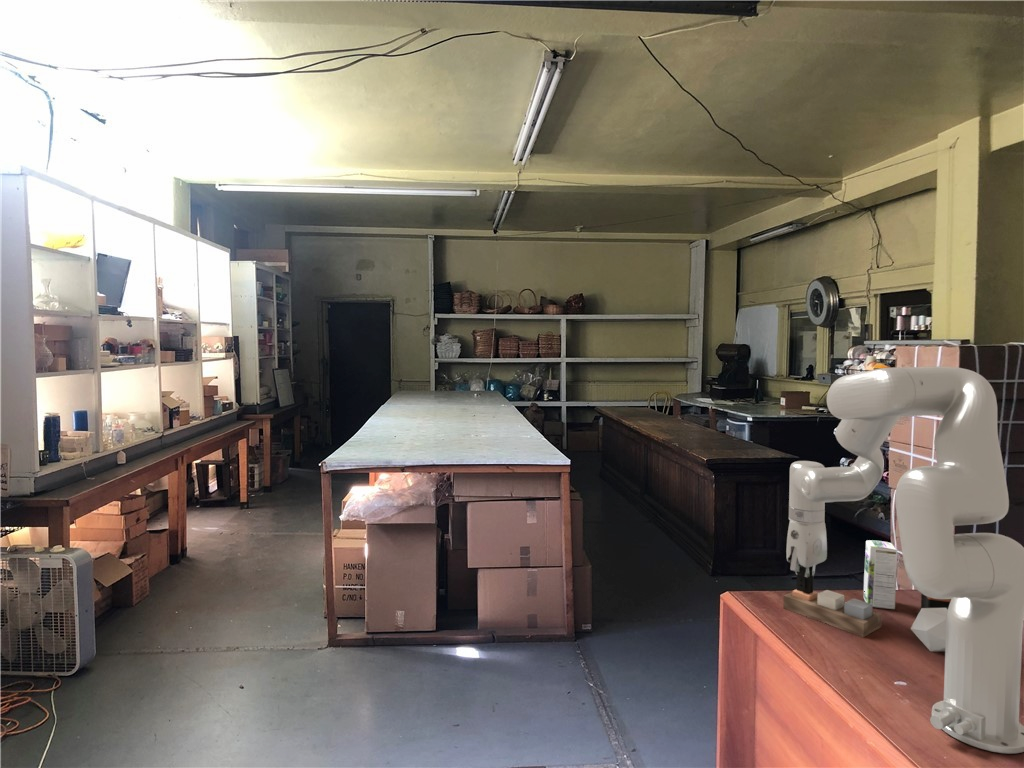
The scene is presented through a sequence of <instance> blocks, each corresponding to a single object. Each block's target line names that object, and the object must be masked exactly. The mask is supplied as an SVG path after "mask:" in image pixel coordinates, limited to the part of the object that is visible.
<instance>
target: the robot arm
mask: <svg viewBox="0 0 1024 768" xmlns="http://www.w3.org/2000/svg"><path fill="white" fill-rule="evenodd" d="M826 405H827V408H828V411H829V412H830V413H831V415H832V416H833V417H835V418H837V419H838V420H840V422H839V423H838V425H837V427H836V429H835V438H836V441H837V442H838V444H840V446H841V447H842V448H844V449H845V450H846V451H848V452H850V453H851V454H853V455H855V456H857V458H856V459H855V461H854V462H853V464H852V465H851V466H831V467H825V465H824V464H822V463H820V462H817V461H810V460H797V461H794V462H792V463H791V464H790V467H789V485H788V486H789V492H788V494H789V495H788V499H789V500H788V520H789V523H788V530H787V536H786V549H785V550H786V551H785V552H786V561H787V562H788V563H789V564H790V568H789V569H790V571H793V572H795V575H796V584H795V585H796V589H797V590H798V591H801V592H804V593H807V594H810V593H812V592H813V591H814V576H815V573H816V566H817V565H818V564H821V563H823V562H825V561H826V560H827V559H828V558H827V557H828V541H827V540H828V538H827V536H828V535H827V528H826V523H825V515H826V514H825V512H826V510H825V509H826V508H825V506H826V504H825V503H834V502H835V503H836V502H856V501H861V500H864V499H865V498H867V497H868V496H869V495H870V494H871V493H872V492H873V490H875V488H876V486H877V485H878V484H879V483H880V481H881V479H882V477H883V475H884V469H885V466H884V465H885V464H884V463H885V462H884V461H885V460H884V455H883V452H882V450H881V446H882V445H883V443H884V442H885V441H886V439H887V437H888V436H889V435H890V433H891V432H892V430H893V428H894V427H895V426H896V424H897V423H898V422H899V420H900V419H901V417H917V416H918V417H922V416H924V417H925V416H942V419H941V420H940V422H939V424H938V426H937V427H936V432H935V434H934V438H933V439H934V442H933V443H934V444H933V445H934V448H935V456H936V465H921V466H916V467H913V468H911V469H908V470H907V471H905V472H904V473H903V474H902V475H901V477H899V479H898V482H897V484H896V489H895V494H894V502H895V512H896V519H897V525H898V526H897V527H898V532H899V538H900V539H899V541H900V544H901V545H900V547H901V553H902V559H903V564H904V569H905V572H906V574H907V577H908V579H909V581H910V583H911V584H912V585H913V588H915V590H917V591H918V592H919V593H922V594H923V595H925V596H928V597H930V598H934V599H951V602H950V604H949V608H948V612H947V620H946V645H945V651H944V681H943V700H939V701H937V702H935V703H934V704H933V705H932V708H931V717H930V718H929V720H930V721H929V722H930V724H931V725H932V726H933V728H935V729H937V730H943V732H945V733H946V734H947V735H949V736H951V737H953V738H954V739H957V740H958V741H960V742H962V743H964V744H967V745H969V746H972V747H975V748H977V749H981V750H985V751H988V752H993V753H999V754H1020V753H1023V752H1024V725H1023V723H1021V722H1020V700H1021V676H1022V674H1021V673H1022V672H1021V671H1022V651H1023V649H1022V648H1023V634H1024V632H1023V631H1024V629H1023V628H1024V546H1023V545H1022V544H1021V543H1020V542H1018V541H1016V540H1015V539H1013V538H1012V537H1009V536H1007V535H1006V536H1005V535H1003V534H1000V533H993V532H970V533H956V534H954V526H956V527H957V526H969V525H972V526H973V525H984V524H992V523H995V522H998V521H1001V520H1003V519H1004V518H1005V516H1006V515H1007V514H1008V513H1009V508H1010V499H1009V491H1008V485H1007V479H1006V475H1005V468H1004V467H1005V466H1004V462H1003V456H1002V450H1001V447H1000V446H1001V445H1000V441H999V431H998V403H997V396H996V393H995V391H994V388H993V386H992V385H991V383H990V382H989V381H988V380H987V379H986V378H985V377H984V376H983V375H982V374H979V372H975V371H974V370H970V369H967V368H962V367H956V366H910V367H909V366H908V367H907V366H905V367H904V366H903V367H901V366H900V367H883V368H877V369H876V368H875V369H871V370H867V371H866V370H865V371H862V372H858V373H853V374H847V375H843V376H841V377H839V378H837V379H836V380H834V381H833V383H832V384H831V385H830V387H829V388H828V391H827V395H826ZM796 589H795V590H796Z"/></svg>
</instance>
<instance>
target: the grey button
mask: <svg viewBox="0 0 1024 768" xmlns="http://www.w3.org/2000/svg"><path fill="white" fill-rule="evenodd" d="M844 602H845V605H844V613H845V614H847V615H850V616H853V617H856V618H859V619H862V620H866V619H867V618H869V617H871V616H872V611H873V608H874V607H873V604H870V603H867V602H866V601H865V600H861V599H857V598H854V597H853V598H851V599H849V600H847V601H844Z"/></svg>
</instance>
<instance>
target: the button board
mask: <svg viewBox="0 0 1024 768" xmlns="http://www.w3.org/2000/svg"><path fill="white" fill-rule="evenodd" d="M817 599H818V598H816V599H814V600H812V601H807V600H804V599H801V598H798V597H795V596H792V592H789V593H787V594H784V595H783V600H782V601H783V609H785V610H788V611H790V612H793V613H795V614H798V615H802V616H804V617H806V616H807V617H806V618H809V619H812V620H814V619H815V621H817V620H818V621H817V622H820V621H821V623H823V624H825V623H827V624H826V625H828V624H829V626H831V627H834V628H837V629H840V630H842V631H845V632H848V633H850V634H853V635H856V636H858V637H861V638H865V637H866V636H869V635H870V634H871V633H873V632H875V631H878V630H879V629H881V628H882V613H881V612H877V611H874V610H872V616H871V617H869V618H867V619H866V620H862V619H859V618H856V617H853V616H850V615H847V614H845V613H844V607H842V608H840V609H838V610H833V609H830V608H827V607H824V606H821V605H818V604H817ZM845 602H846V601H844V605H845Z"/></svg>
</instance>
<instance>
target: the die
mask: <svg viewBox="0 0 1024 768" xmlns="http://www.w3.org/2000/svg"><path fill="white" fill-rule="evenodd" d="M947 612H948V609H947V608H921V607H920V610H919V612H918V614H917V616H916V618H915V620H914V621H913V623H912V625H911V627H910V630H911V631H912V632H913V634H915V636H916V637H917V638H918V639H919V640H920V641H921V642H922V644H923V645H924V646H925V647H926V648H927V649H928V650H929V651H930V652H945V645H946V620H947Z"/></svg>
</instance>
